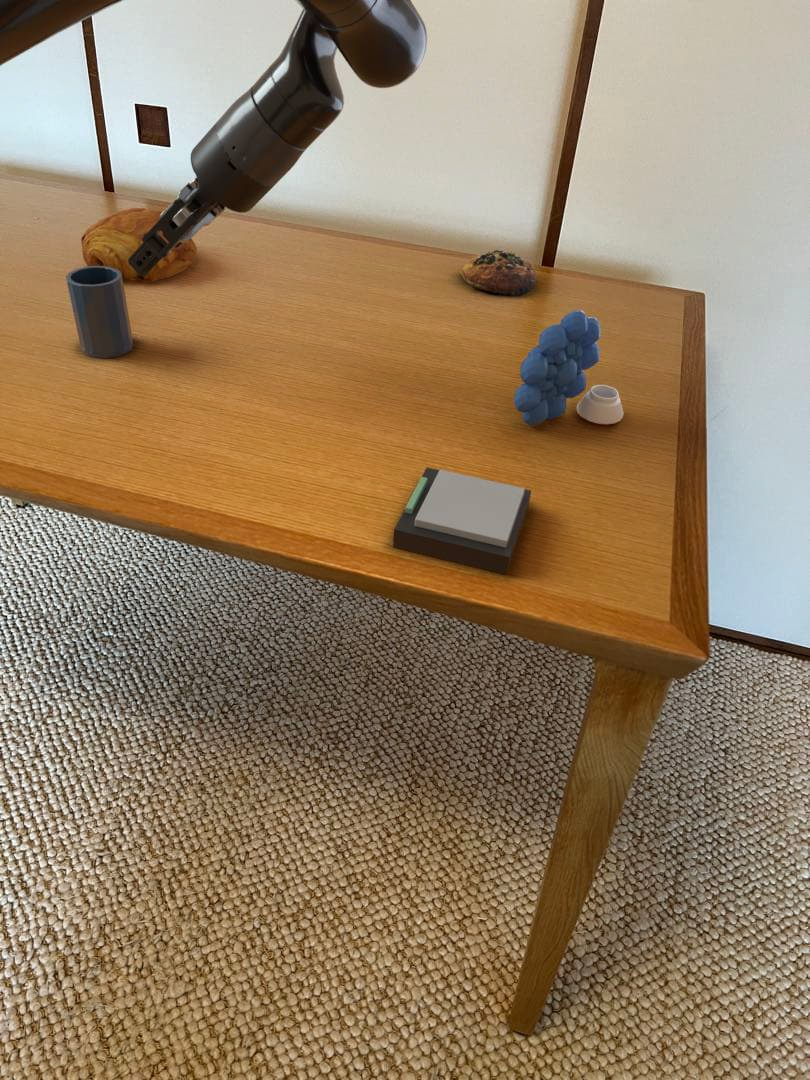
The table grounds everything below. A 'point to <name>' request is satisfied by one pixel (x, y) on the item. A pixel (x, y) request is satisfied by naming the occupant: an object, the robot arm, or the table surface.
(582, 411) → the white jar
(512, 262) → the bread roll
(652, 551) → the table surface
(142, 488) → the table surface
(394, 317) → the table surface
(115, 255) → the croissant
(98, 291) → the cup
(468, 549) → the scale
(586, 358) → the grapes
